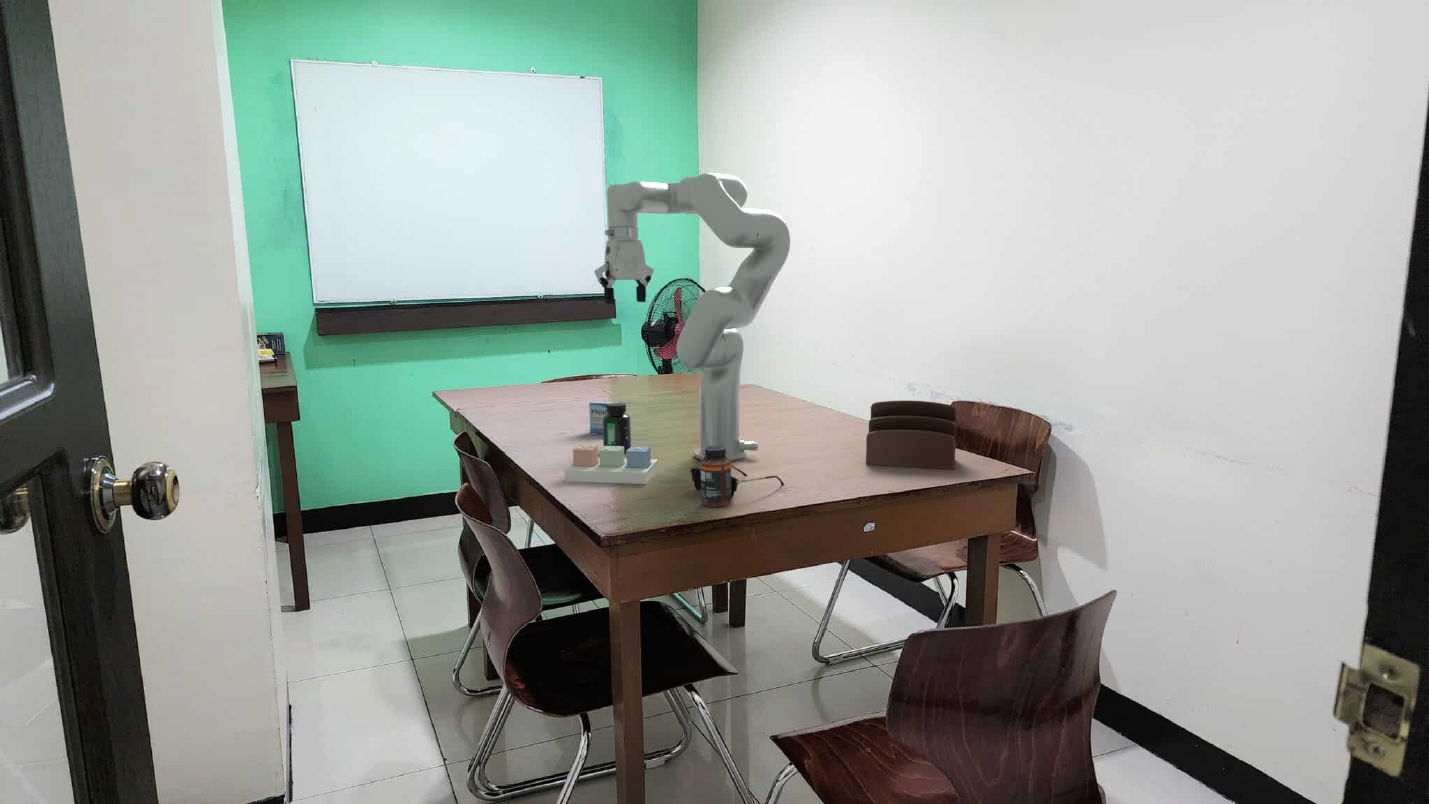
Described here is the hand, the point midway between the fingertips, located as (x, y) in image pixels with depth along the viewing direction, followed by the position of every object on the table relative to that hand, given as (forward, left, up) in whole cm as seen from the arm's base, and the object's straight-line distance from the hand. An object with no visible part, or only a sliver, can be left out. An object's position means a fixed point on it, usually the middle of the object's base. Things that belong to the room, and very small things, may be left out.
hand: (625, 302), depth 221 cm
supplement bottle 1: (0, +13, -36) cm, 39 cm away
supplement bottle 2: (-31, +55, -36) cm, 73 cm away
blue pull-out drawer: (-11, +36, -34) cm, 51 cm away
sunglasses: (-34, +42, -37) cm, 66 cm away
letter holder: (-71, +16, -37) cm, 82 cm away
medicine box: (+9, -9, -36) cm, 38 cm away
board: (-5, +36, -36) cm, 51 cm away
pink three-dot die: (+1, +36, -34) cm, 50 cm away
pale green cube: (-5, +36, -34) cm, 50 cm away
